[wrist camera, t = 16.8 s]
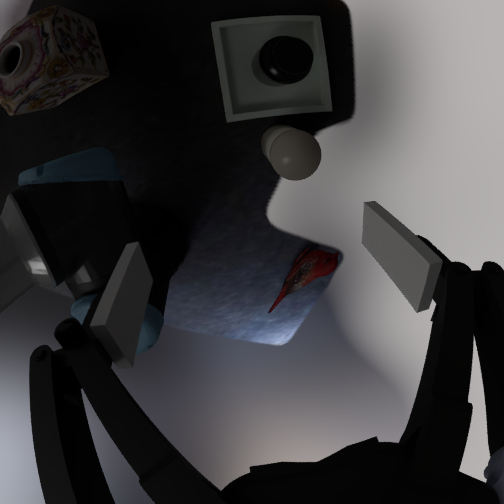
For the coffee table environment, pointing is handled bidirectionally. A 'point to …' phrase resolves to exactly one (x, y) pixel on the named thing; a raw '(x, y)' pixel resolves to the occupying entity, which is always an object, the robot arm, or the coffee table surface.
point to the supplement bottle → (282, 61)
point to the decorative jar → (49, 60)
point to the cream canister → (291, 151)
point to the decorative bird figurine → (307, 271)
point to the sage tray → (246, 84)
